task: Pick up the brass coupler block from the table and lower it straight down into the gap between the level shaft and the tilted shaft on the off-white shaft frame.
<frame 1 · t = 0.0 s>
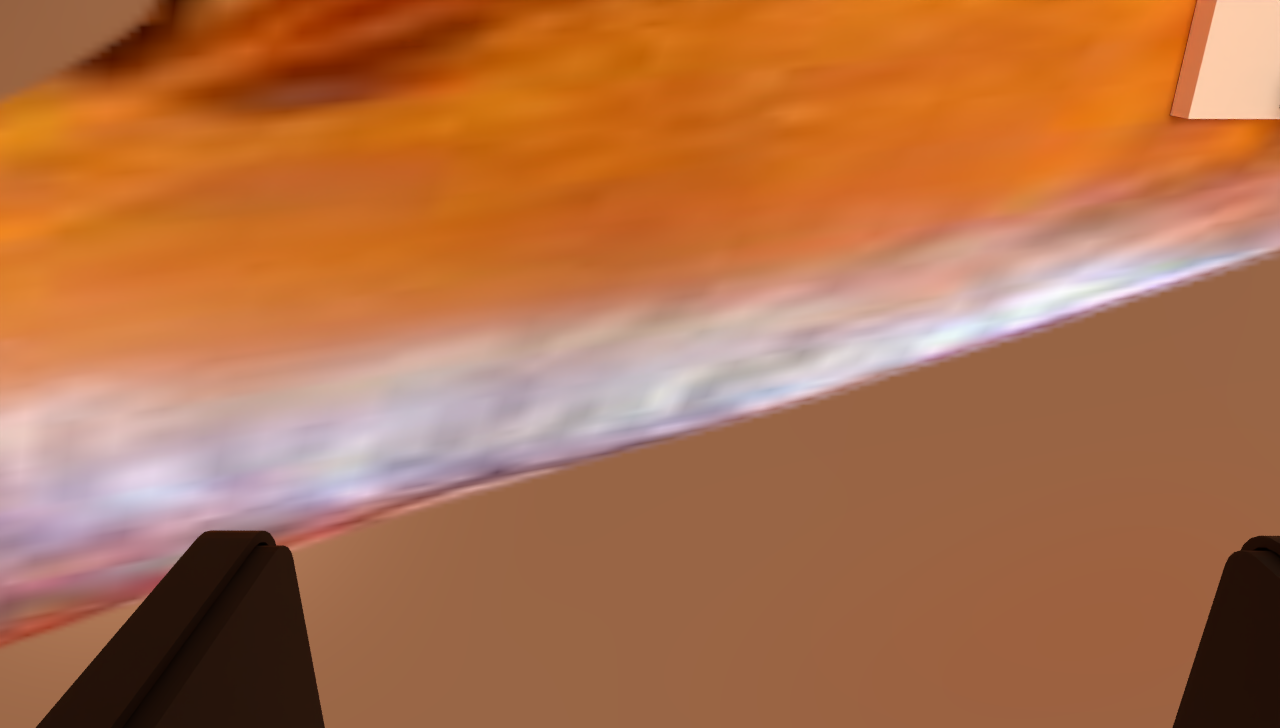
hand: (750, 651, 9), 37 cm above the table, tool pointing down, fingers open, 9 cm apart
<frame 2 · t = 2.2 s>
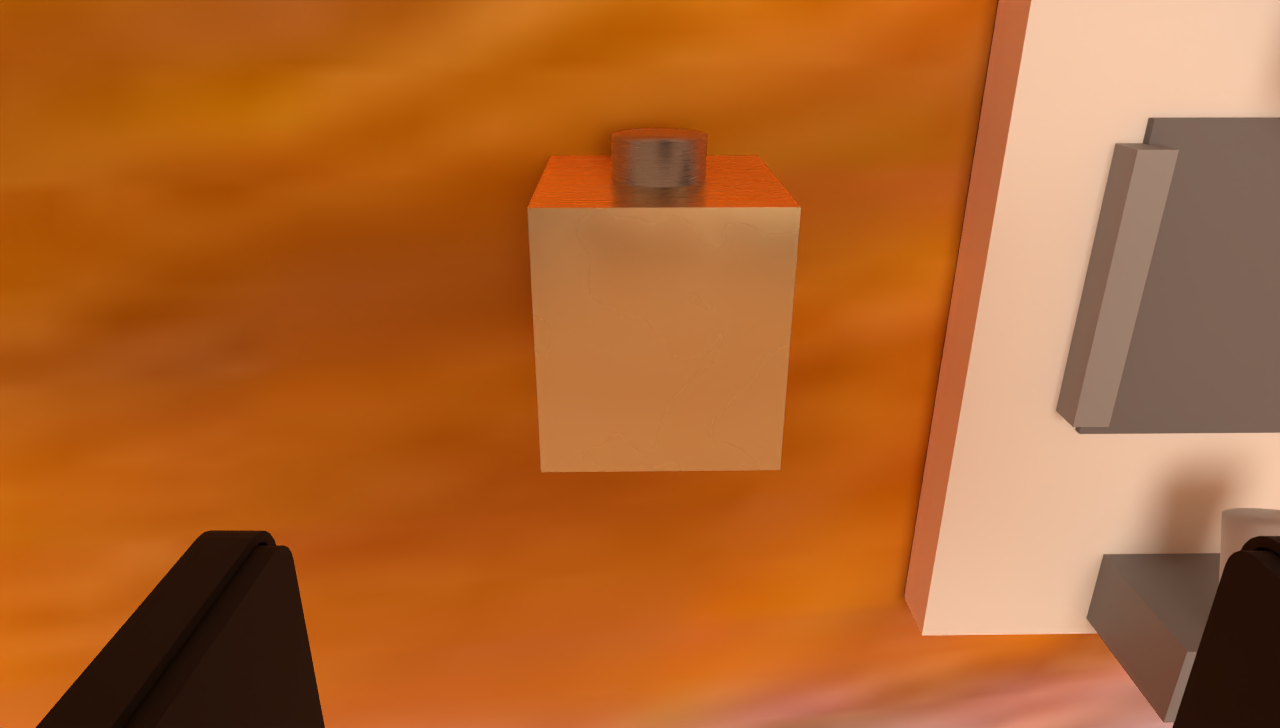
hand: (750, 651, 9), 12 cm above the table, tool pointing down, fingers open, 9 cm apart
shaft frame: (1213, 264, 20), on the table
coupler: (653, 265, 19), on the table
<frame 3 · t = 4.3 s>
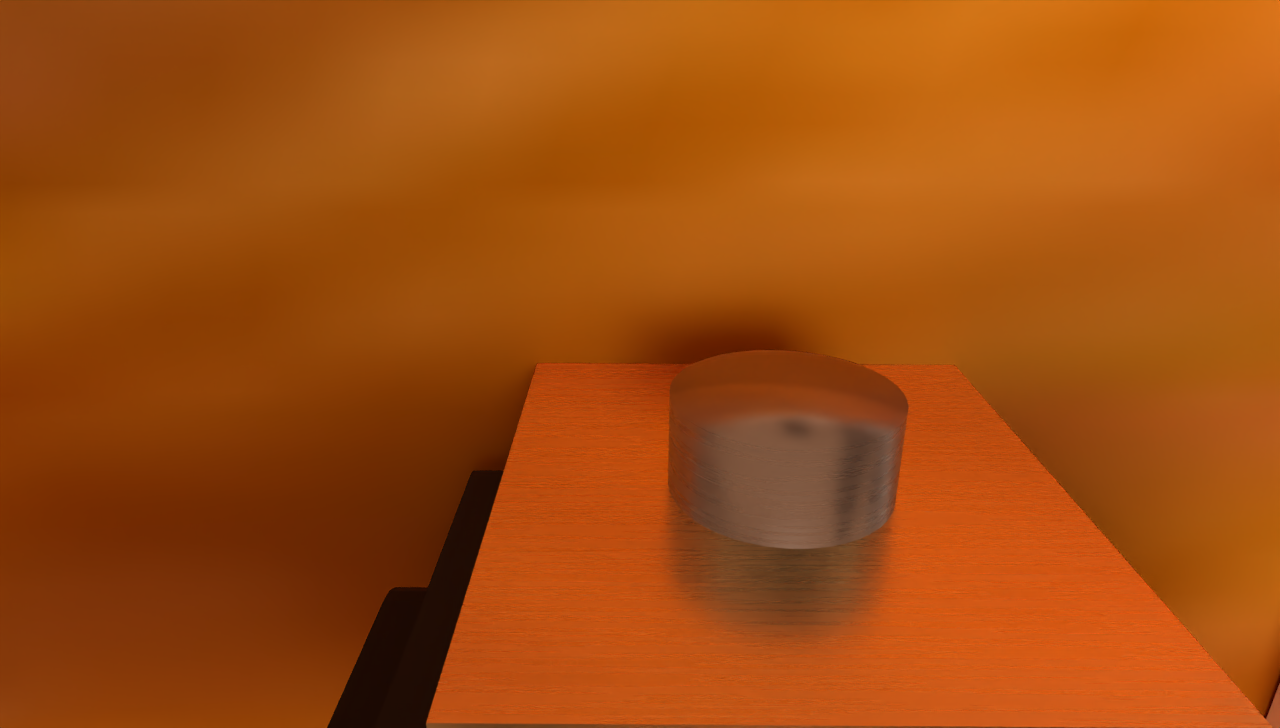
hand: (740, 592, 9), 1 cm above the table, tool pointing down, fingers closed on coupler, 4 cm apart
coupler: (735, 557, 10), on the table, touching gripper
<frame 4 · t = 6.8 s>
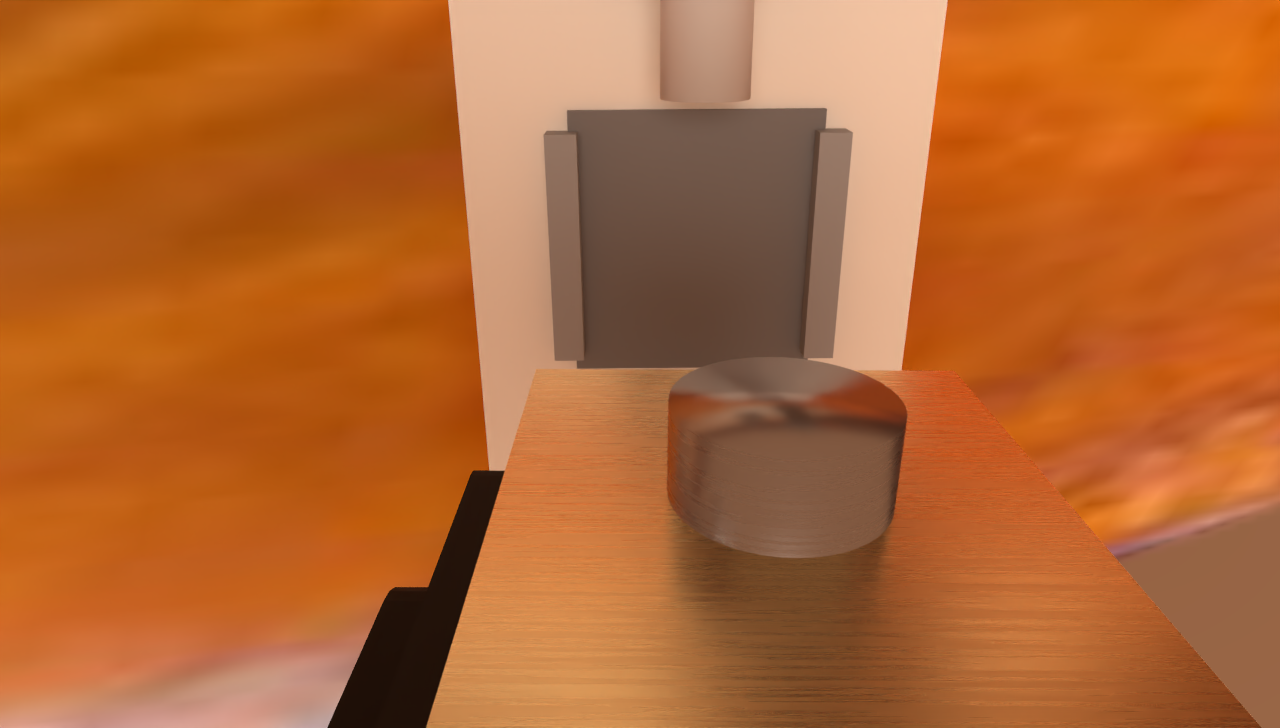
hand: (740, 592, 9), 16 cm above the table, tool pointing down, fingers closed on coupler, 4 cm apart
shaft frame: (690, 230, 24), on the table
coupler: (734, 563, 10), point 15 cm above the table, touching gripper
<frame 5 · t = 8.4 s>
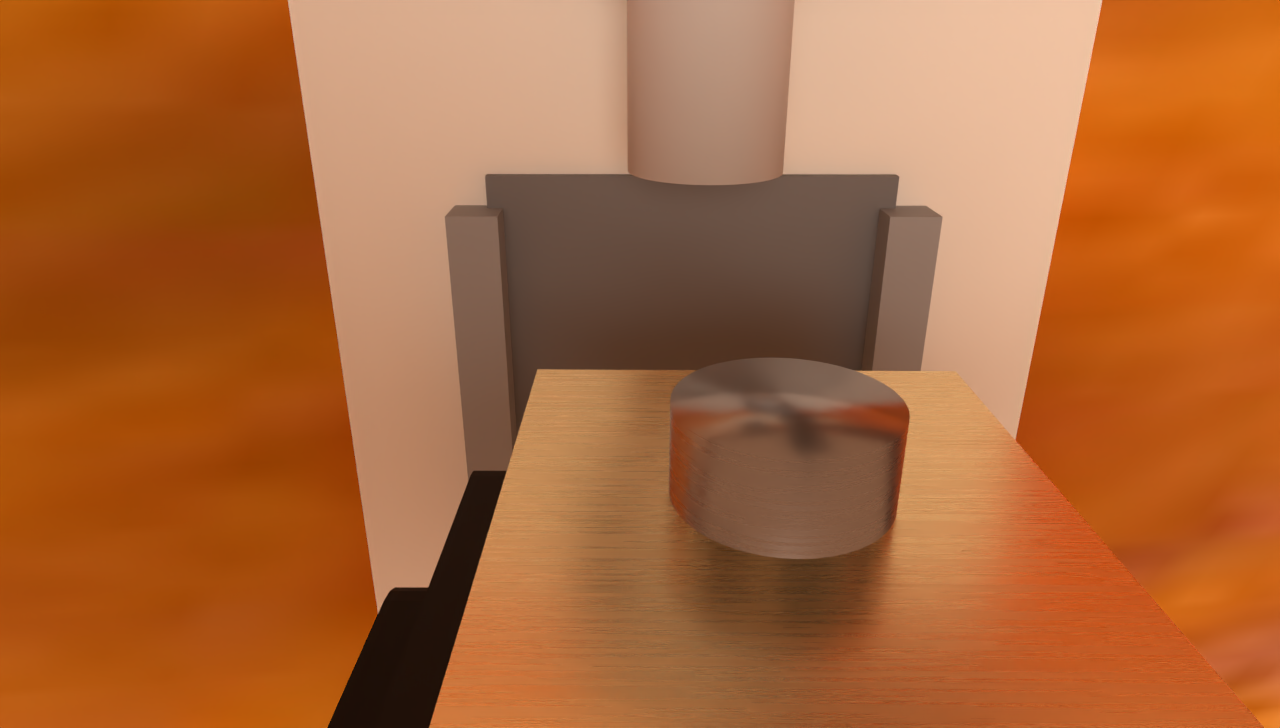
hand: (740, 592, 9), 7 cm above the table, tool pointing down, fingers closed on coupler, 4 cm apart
shaft frame: (682, 344, 16), on the table
coupler: (735, 563, 10), point 7 cm above the table, touching gripper
when the fingers open (3 cm above the table, at t = 9.5 s): coupler stays where it is, resting on shaft frame.
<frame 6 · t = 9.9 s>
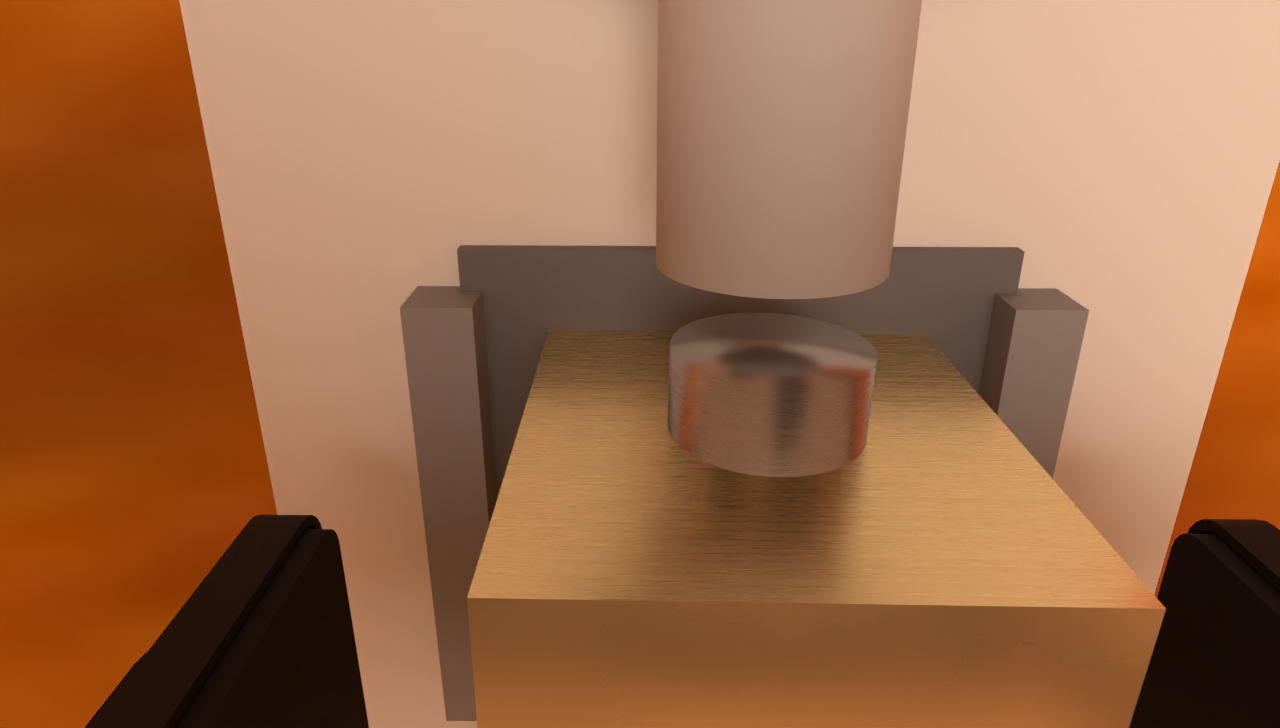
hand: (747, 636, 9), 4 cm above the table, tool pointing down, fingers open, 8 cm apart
shaft frame: (717, 449, 13), on the table
coupler: (726, 511, 11), point 2 cm above the table, touching shaft frame
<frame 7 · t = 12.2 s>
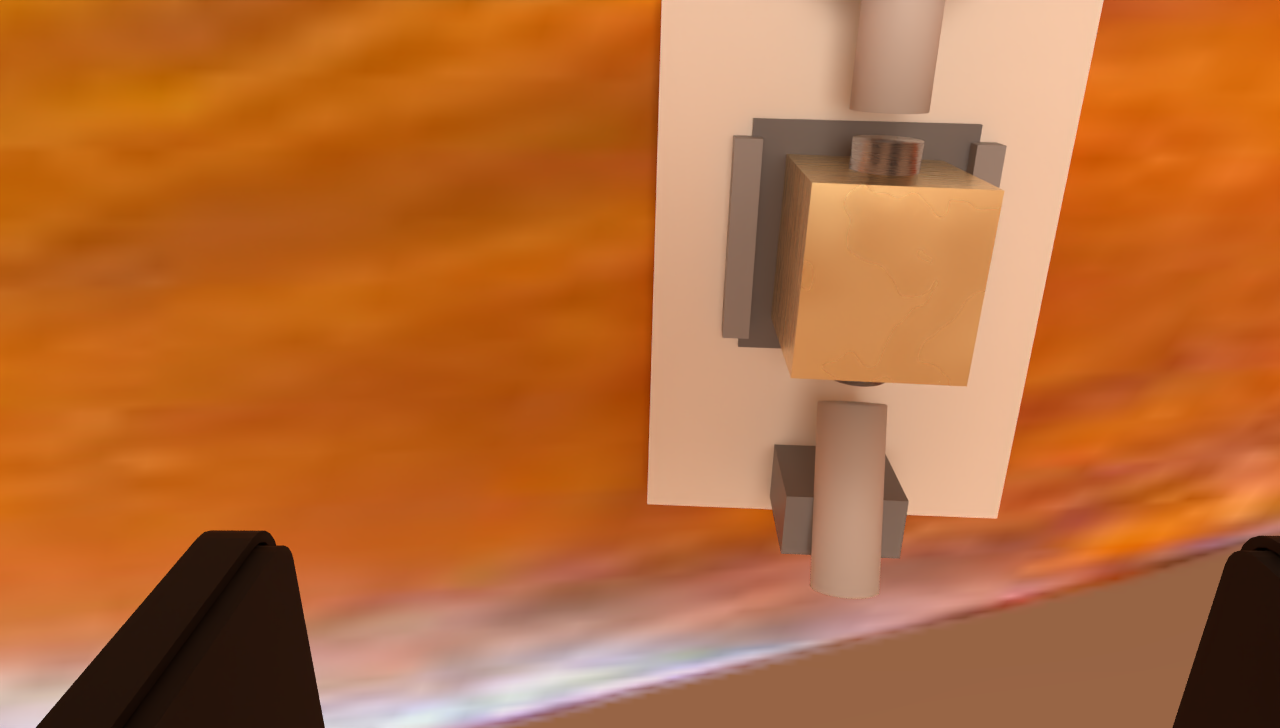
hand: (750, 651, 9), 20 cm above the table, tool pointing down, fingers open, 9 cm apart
shaft frame: (843, 229, 27), on the table
coupler: (853, 241, 25), point 2 cm above the table, touching shaft frame
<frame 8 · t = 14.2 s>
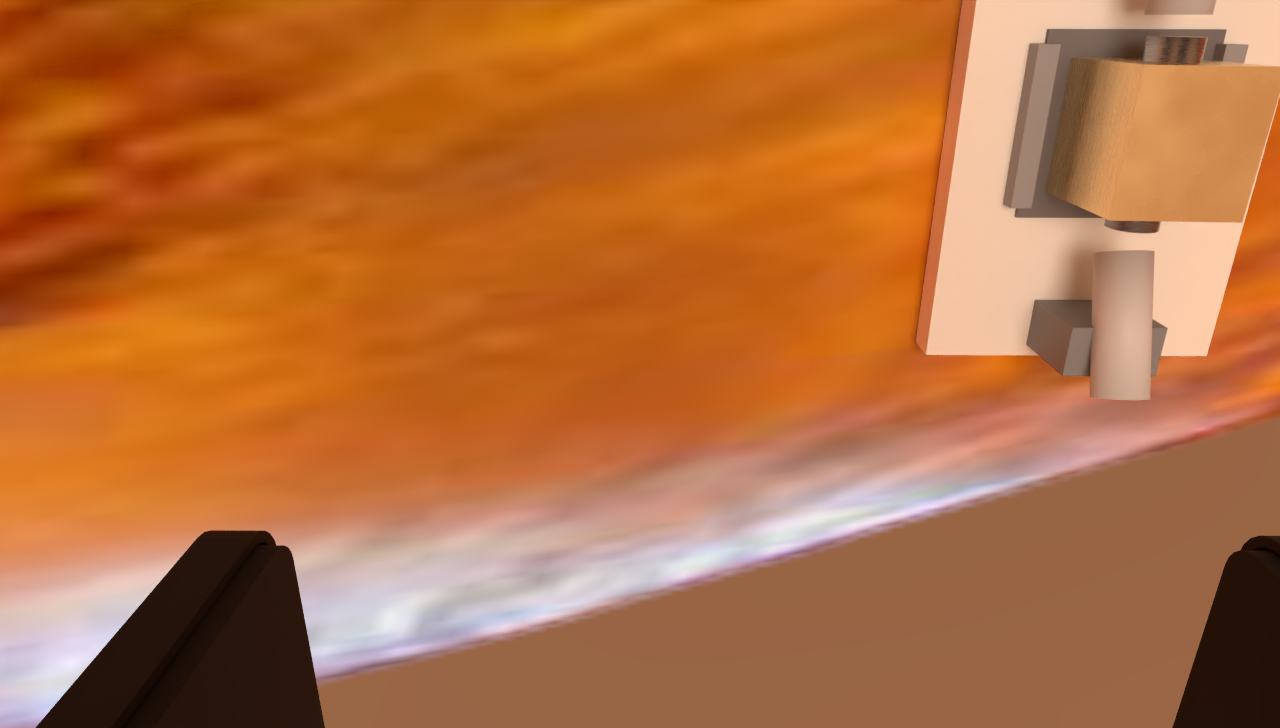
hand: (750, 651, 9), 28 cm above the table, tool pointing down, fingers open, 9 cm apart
shaft frame: (1095, 122, 34), on the table
coupler: (1116, 127, 32), point 2 cm above the table, touching shaft frame
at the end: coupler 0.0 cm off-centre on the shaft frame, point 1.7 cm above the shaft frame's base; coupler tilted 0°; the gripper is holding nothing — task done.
